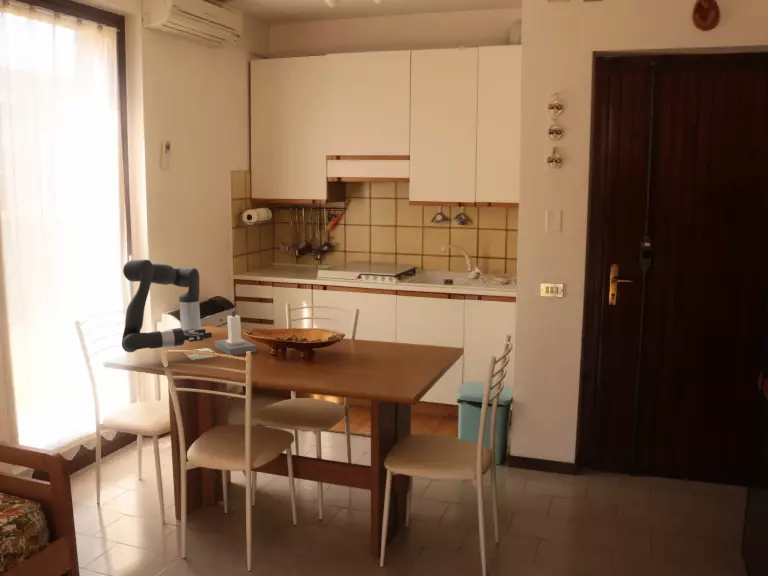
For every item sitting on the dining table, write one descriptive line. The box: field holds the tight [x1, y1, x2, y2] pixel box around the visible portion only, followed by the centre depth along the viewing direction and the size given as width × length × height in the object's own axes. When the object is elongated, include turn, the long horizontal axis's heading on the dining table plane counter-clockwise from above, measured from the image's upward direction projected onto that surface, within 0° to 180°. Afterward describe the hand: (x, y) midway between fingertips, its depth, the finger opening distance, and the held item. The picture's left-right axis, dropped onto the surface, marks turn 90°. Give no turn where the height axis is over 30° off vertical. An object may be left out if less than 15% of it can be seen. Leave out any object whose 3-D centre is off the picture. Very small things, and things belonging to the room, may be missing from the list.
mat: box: [187, 347, 217, 361], centre depth 338 cm, size 16×12×1 cm
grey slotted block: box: [214, 337, 257, 356], centre depth 346 cm, size 20×12×4 cm, turn 30°
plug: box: [225, 310, 245, 345], centre depth 345 cm, size 7×7×18 cm
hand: (208, 333), depth 339 cm, fingers open, 8 cm apart
